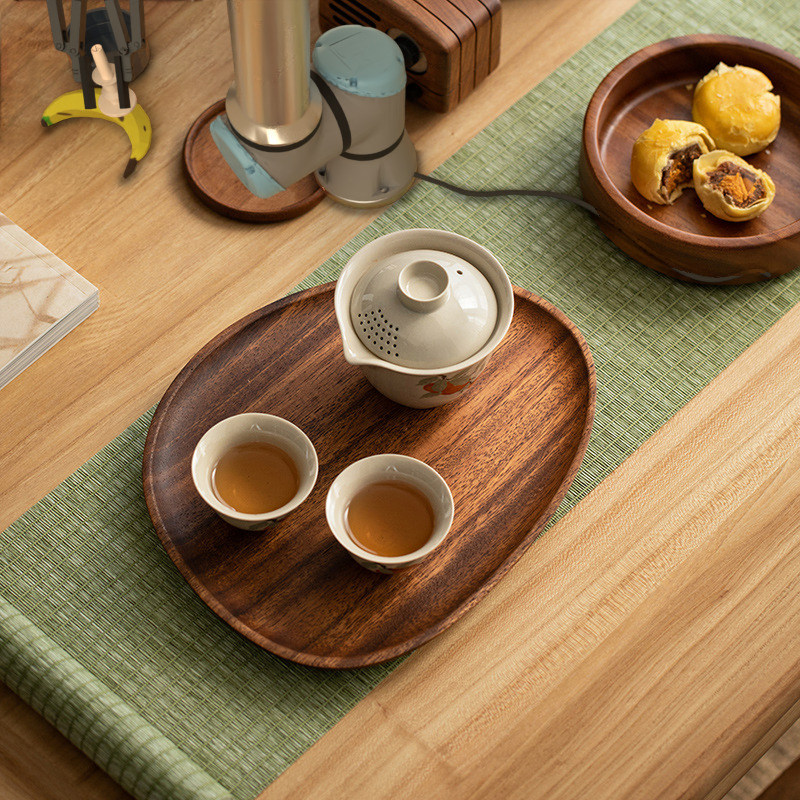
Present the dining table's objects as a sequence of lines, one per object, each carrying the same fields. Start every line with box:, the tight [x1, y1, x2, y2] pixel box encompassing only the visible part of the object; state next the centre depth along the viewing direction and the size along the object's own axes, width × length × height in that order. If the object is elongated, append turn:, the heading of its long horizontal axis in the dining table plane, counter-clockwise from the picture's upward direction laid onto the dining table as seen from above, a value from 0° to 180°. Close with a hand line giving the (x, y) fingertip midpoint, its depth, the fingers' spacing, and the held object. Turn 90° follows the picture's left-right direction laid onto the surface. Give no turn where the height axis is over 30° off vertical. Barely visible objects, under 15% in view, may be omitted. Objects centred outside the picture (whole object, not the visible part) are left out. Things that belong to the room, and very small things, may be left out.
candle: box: [91, 44, 138, 117], centre depth 122 cm, size 5×5×10 cm
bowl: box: [65, 6, 151, 88], centre depth 143 cm, size 12×12×5 cm
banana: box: [40, 87, 153, 179], centre depth 138 cm, size 5×17×15 cm
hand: (108, 108), depth 122 cm, fingers closed on candle, 4 cm apart
